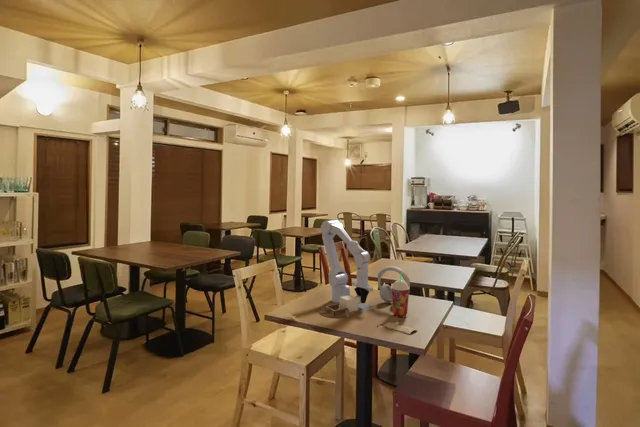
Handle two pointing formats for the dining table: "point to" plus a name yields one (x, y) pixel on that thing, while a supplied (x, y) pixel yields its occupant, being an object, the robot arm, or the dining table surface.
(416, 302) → the dining table surface
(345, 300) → the beige upright block
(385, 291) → the headphones
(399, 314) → the smoothie
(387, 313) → the dining table surface
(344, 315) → the turntable
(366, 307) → the board
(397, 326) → the newspaper
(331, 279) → the robot arm
